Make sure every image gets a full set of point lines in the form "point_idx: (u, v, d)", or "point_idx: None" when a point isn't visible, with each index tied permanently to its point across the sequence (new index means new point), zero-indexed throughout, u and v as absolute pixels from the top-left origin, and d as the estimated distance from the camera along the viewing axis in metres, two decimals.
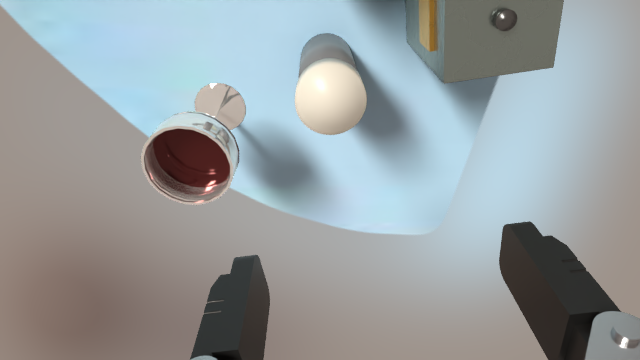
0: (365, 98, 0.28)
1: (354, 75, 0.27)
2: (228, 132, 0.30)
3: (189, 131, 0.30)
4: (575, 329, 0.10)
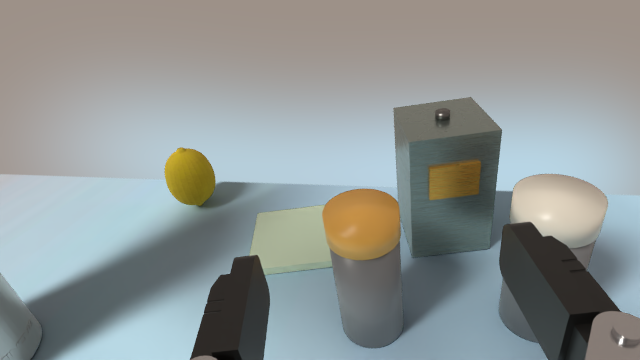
0: (541, 174, 0.26)
1: (518, 183, 0.26)
2: None
3: None
4: (575, 329, 0.10)
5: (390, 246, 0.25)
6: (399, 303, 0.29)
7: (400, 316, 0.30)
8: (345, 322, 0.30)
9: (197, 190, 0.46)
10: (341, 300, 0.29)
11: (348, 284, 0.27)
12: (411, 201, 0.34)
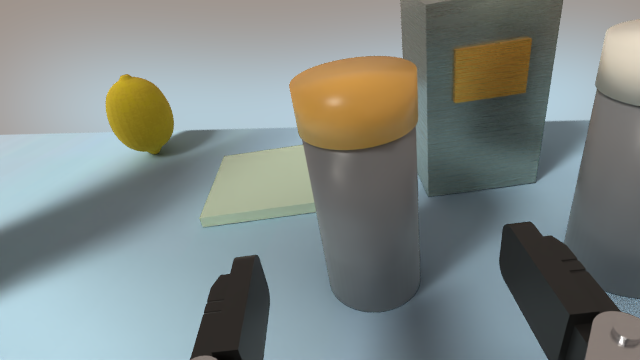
0: None
1: (611, 29, 0.16)
2: None
3: None
4: (574, 329, 0.10)
5: (402, 125, 0.15)
6: (415, 240, 0.18)
7: (416, 262, 0.19)
8: (332, 273, 0.20)
9: (147, 129, 0.36)
10: (325, 236, 0.18)
11: (333, 202, 0.17)
12: (428, 107, 0.23)
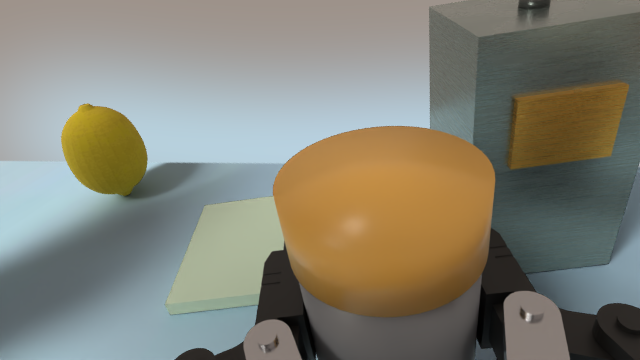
0: None
1: None
2: None
3: None
4: (493, 308, 0.10)
5: (470, 273, 0.08)
6: None
7: None
8: None
9: (112, 170, 0.29)
10: None
11: None
12: None
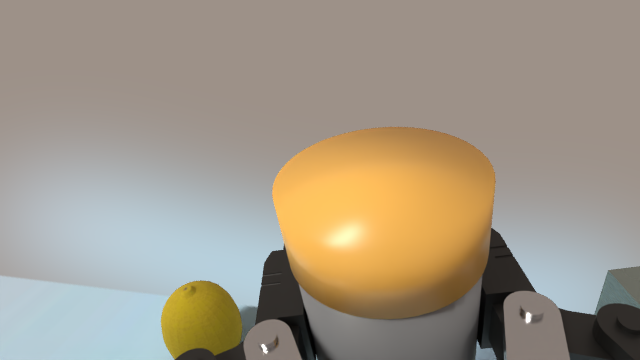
0: None
1: None
2: None
3: None
4: (493, 308, 0.10)
5: (470, 275, 0.08)
6: None
7: None
8: None
9: None
10: None
11: None
12: None
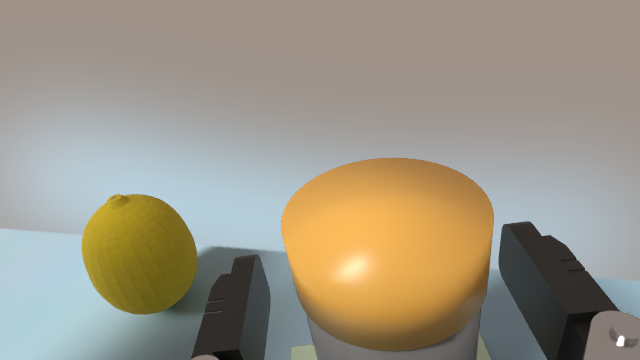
0: None
1: None
2: None
3: None
4: (574, 329, 0.10)
5: (469, 308, 0.09)
6: None
7: None
8: None
9: (154, 291, 0.20)
10: None
11: None
12: None
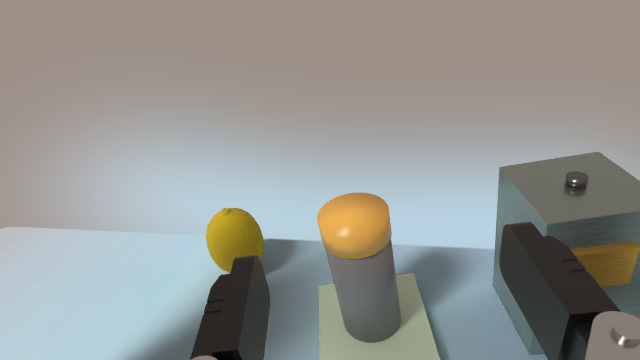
0: None
1: None
2: None
3: None
4: (574, 329, 0.10)
5: (380, 245, 0.27)
6: (394, 300, 0.31)
7: (396, 312, 0.31)
8: (345, 319, 0.32)
9: None
10: (339, 298, 0.31)
11: (344, 282, 0.29)
12: None
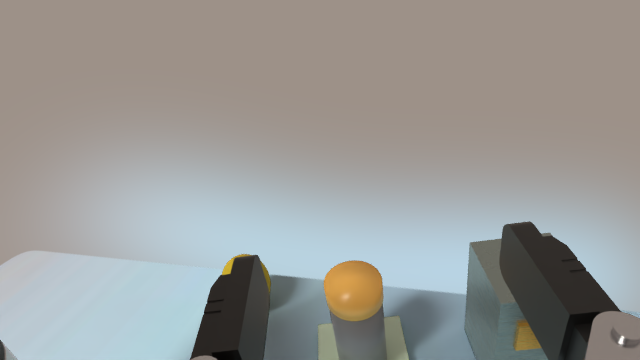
0: None
1: None
2: None
3: None
4: (575, 329, 0.09)
5: (374, 311, 0.33)
6: (382, 348, 0.37)
7: (383, 356, 0.38)
8: (340, 359, 0.38)
9: None
10: (337, 344, 0.37)
11: (342, 335, 0.35)
12: (495, 350, 0.33)
